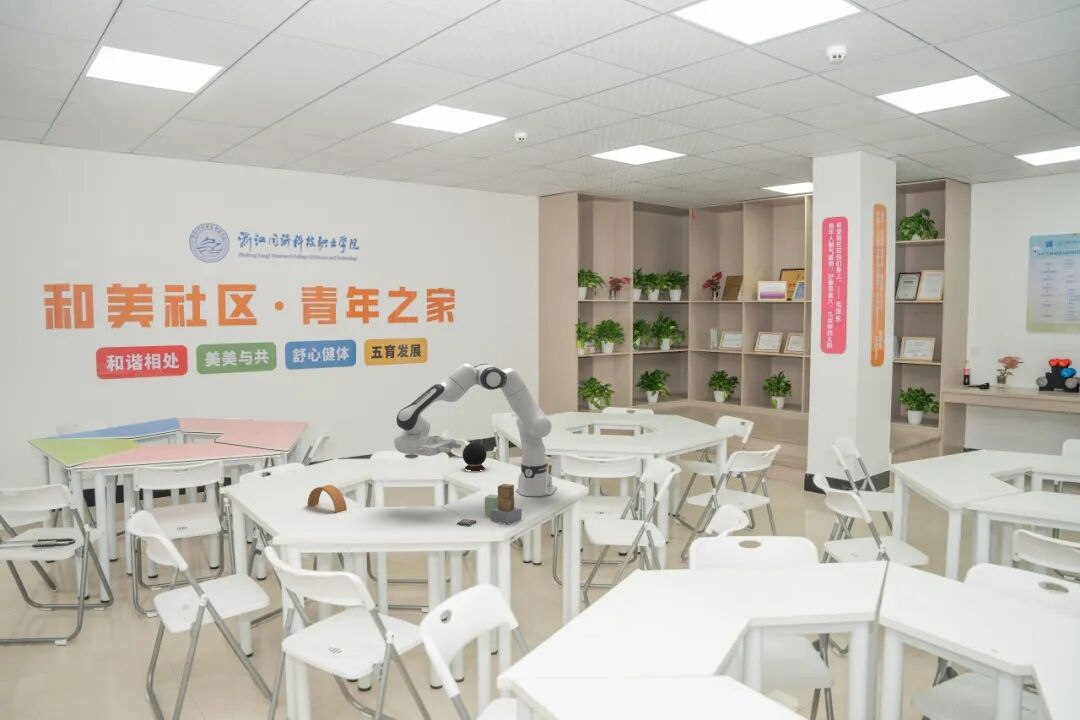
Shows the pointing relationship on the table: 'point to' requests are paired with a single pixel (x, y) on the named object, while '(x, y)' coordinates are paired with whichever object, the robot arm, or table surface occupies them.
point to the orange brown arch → (333, 493)
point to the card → (466, 522)
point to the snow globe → (474, 456)
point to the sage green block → (490, 503)
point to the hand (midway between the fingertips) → (455, 448)
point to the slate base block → (506, 515)
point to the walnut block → (506, 497)
